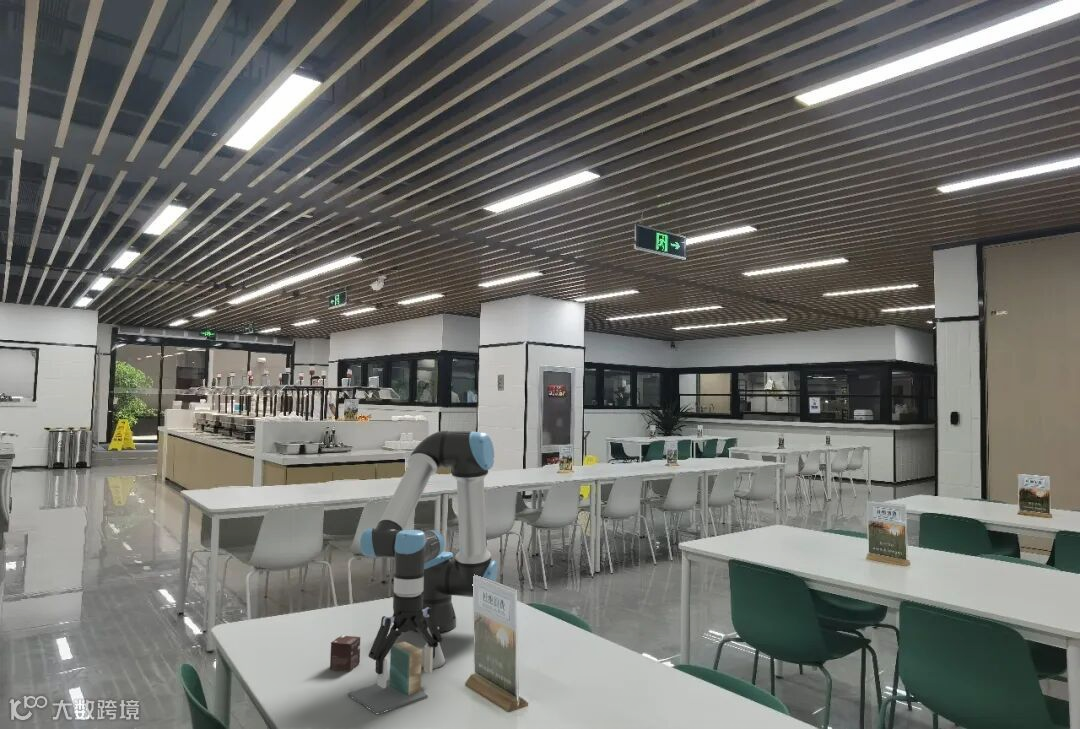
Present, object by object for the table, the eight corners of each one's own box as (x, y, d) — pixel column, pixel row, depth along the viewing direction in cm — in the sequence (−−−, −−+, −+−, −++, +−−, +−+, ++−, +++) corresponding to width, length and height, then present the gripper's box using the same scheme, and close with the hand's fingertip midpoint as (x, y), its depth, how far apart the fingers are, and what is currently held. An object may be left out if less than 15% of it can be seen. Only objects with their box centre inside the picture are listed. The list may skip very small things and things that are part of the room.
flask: (450, 662, 186) (451, 626, 187) (435, 671, 179) (436, 633, 180) (428, 657, 189) (429, 622, 190) (413, 666, 182) (414, 629, 183)
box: (349, 672, 178) (350, 644, 178) (329, 670, 179) (330, 642, 179) (360, 663, 184) (361, 636, 184) (340, 661, 185) (341, 634, 185)
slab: (403, 681, 171) (404, 641, 172) (420, 690, 165) (421, 649, 166) (389, 685, 168) (390, 644, 169) (406, 695, 162) (408, 653, 163)
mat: (397, 679, 173) (397, 677, 173) (427, 697, 163) (427, 694, 163) (347, 694, 163) (348, 692, 163) (377, 714, 153) (377, 711, 153)
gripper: (440, 582, 180) (437, 662, 178) (356, 598, 162) (353, 687, 161) (456, 587, 174) (454, 670, 173) (372, 605, 157) (368, 697, 156)
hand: (405, 679), depth 167 cm, fingers open, 13 cm apart
